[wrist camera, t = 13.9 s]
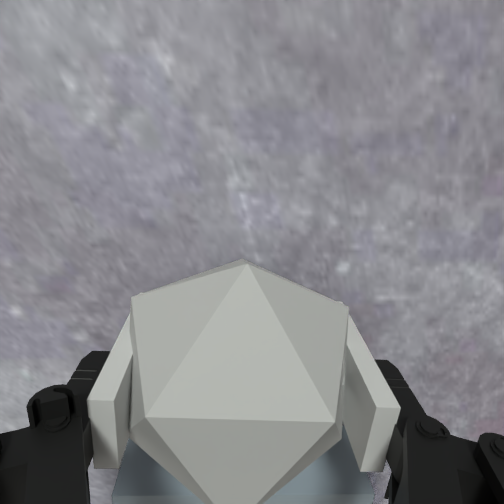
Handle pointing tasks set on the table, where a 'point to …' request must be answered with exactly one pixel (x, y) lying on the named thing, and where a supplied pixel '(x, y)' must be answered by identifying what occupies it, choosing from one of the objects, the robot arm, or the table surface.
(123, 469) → the plinth
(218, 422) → the die
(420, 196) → the table surface
